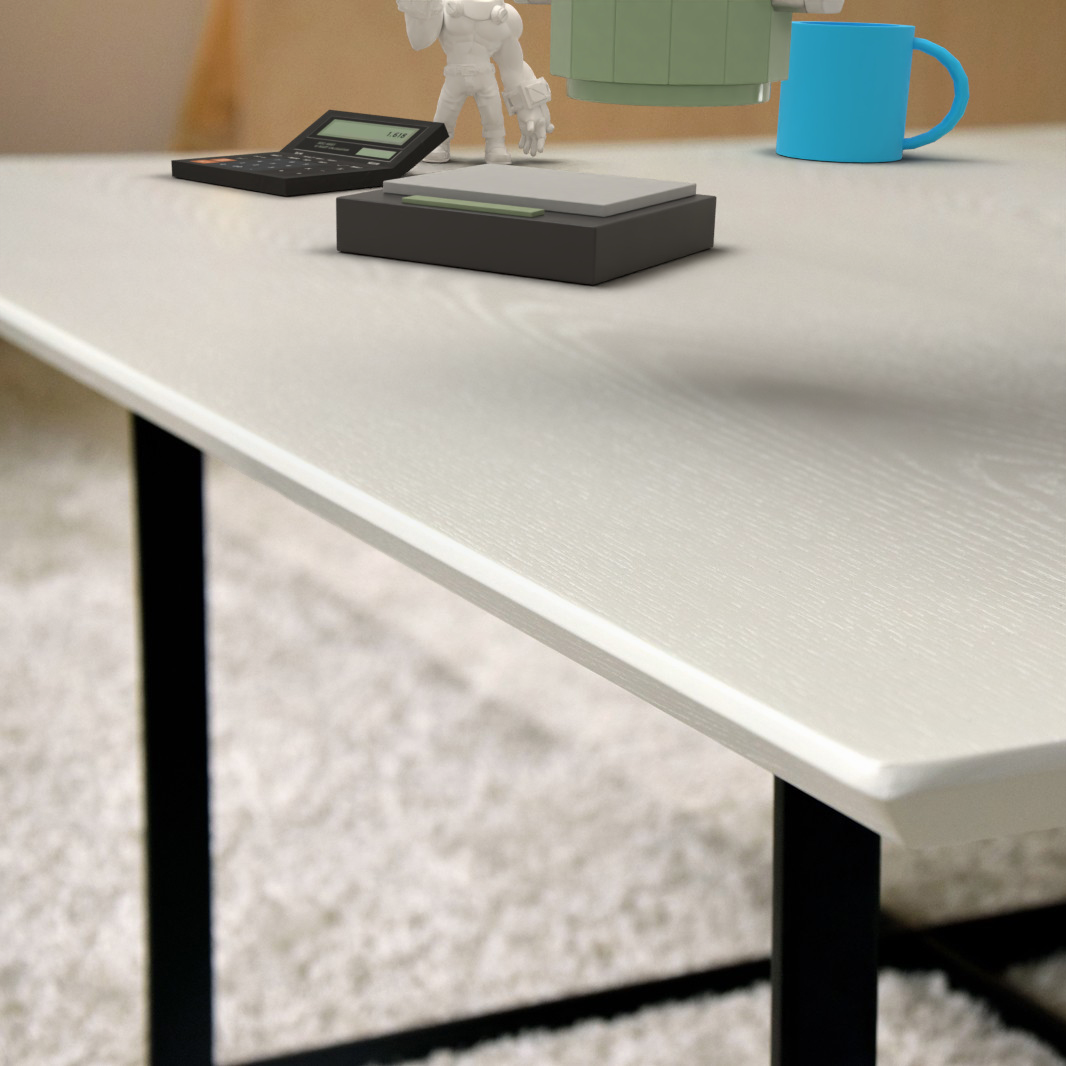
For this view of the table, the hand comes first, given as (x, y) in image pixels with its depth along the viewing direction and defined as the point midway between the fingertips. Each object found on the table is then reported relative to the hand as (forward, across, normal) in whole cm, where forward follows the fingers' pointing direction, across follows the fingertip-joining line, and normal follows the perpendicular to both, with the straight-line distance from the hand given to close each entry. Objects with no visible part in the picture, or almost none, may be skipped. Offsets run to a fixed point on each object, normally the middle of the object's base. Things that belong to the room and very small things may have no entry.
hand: (669, 8), depth 45 cm
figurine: (+11, +32, -41) cm, 53 cm away
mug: (+11, +15, -62) cm, 64 cm away
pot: (+2, 0, 0) cm, 2 cm away
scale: (+10, +14, -16) cm, 24 cm away
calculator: (+10, +35, -29) cm, 46 cm away
